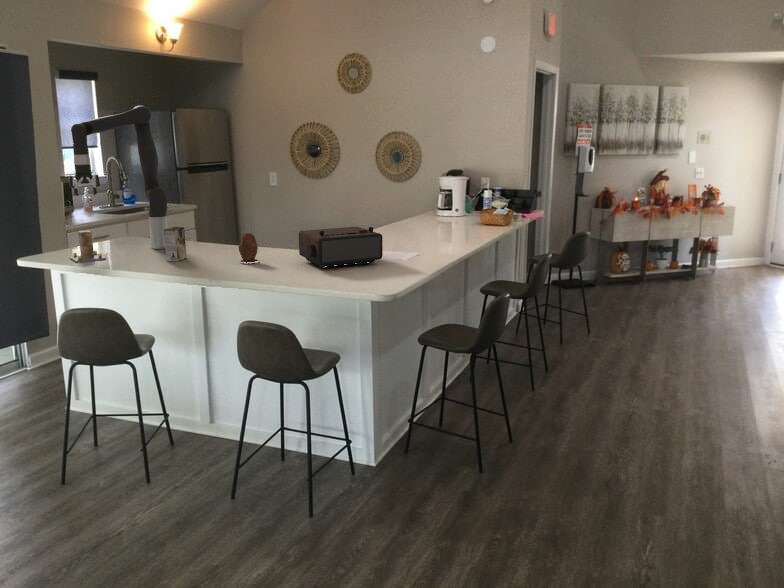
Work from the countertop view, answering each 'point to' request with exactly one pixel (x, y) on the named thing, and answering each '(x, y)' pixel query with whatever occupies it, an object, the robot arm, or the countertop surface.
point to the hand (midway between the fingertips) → (85, 195)
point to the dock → (80, 259)
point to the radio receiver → (340, 246)
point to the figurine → (248, 248)
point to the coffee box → (175, 243)
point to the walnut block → (86, 244)
